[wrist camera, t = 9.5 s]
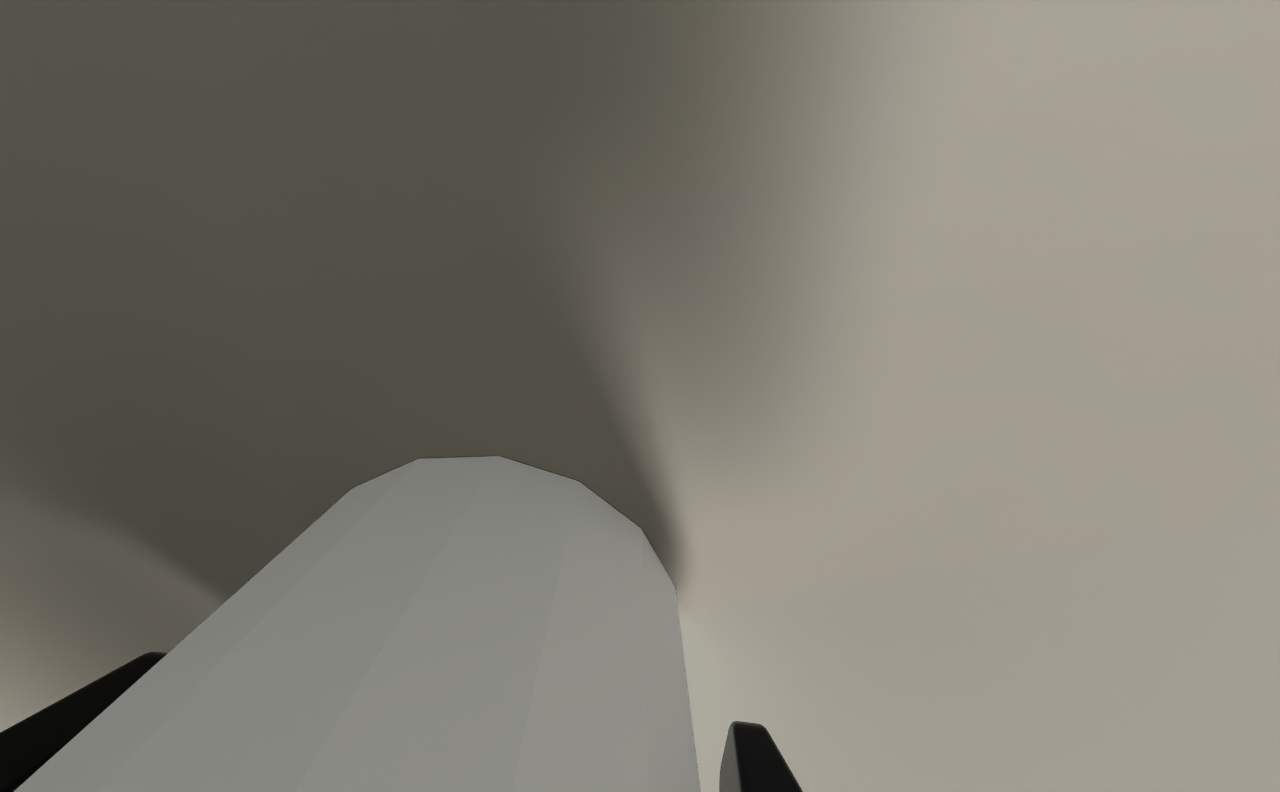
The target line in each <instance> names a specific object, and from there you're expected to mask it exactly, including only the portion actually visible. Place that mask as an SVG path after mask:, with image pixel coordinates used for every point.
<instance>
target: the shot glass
mask: <svg viewBox="0 0 1280 792" xmlns="http://www.w3.org/2000/svg"><path fill="white" fill-rule="evenodd" d="M14 792H701V790H700V782H699V774H698V766H697V757H696V749H695V741H694V733H693V725H692V717H691V709H690V701H689V693H688V685H687V677H686V669H685V661H684V652H683V644H682V636H681V628H680V620H679V612H678V604H677V596H676V588H675V586H674V584H673V582H672V581H671V579H670V577H669V576H668V574H667V572H666V570H665V569H664V567H663V565H662V564H661V562H660V560H659V558H658V557H657V555H656V553H655V552H654V550H653V548H652V546H651V545H650V543H649V541H648V540H647V538H646V536H645V534H644V533H643V531H642V529H641V528H640V527H638V526H637V525H636V524H634V523H633V522H632V521H630V520H629V519H628V518H626V517H625V516H624V515H622V514H621V513H620V512H618V511H617V510H616V509H615V508H613V507H612V506H611V505H609V504H608V503H607V502H605V501H604V500H603V499H601V498H600V497H599V496H597V495H596V494H595V493H593V492H592V491H591V490H590V489H588V488H587V487H586V486H584V485H583V484H582V483H580V482H579V481H576V480H573V479H570V478H567V477H563V476H560V475H557V474H554V473H551V472H548V471H544V470H541V469H538V468H535V467H532V466H529V465H526V464H522V463H519V462H516V461H513V460H510V459H507V458H503V457H500V456H488V457H458V458H429V459H417V460H414V461H412V462H410V463H408V464H405V465H403V466H401V467H399V468H396V469H394V470H392V471H390V472H388V473H385V474H383V475H381V476H379V477H376V478H374V479H372V480H370V481H367V482H365V483H363V484H361V485H358V486H356V487H354V488H352V489H351V490H350V491H349V492H348V493H346V494H345V495H344V496H343V497H342V498H341V499H340V500H339V501H337V502H336V503H335V504H334V505H333V506H332V507H331V508H330V509H329V510H327V511H326V512H325V513H324V514H323V515H322V516H321V517H320V518H319V519H317V520H316V521H315V522H314V523H313V524H312V525H311V526H310V527H308V528H307V529H306V530H305V531H304V532H303V533H302V534H301V535H300V536H298V537H297V538H296V539H295V540H294V541H293V542H292V543H291V544H289V545H288V546H287V547H286V548H285V549H284V550H283V551H282V552H281V553H279V554H278V555H277V556H276V557H275V558H274V559H273V560H272V561H270V562H269V563H268V564H267V565H266V566H265V567H264V568H263V569H262V570H260V571H259V572H258V573H257V574H256V575H255V576H254V577H253V578H252V579H250V580H249V581H248V582H247V583H246V584H245V585H244V586H243V587H241V588H240V589H239V590H238V591H237V592H236V593H235V594H234V595H233V596H231V597H230V598H229V599H228V600H227V601H226V602H225V603H224V604H222V605H221V606H220V607H219V608H218V609H217V610H216V611H215V612H214V613H212V614H211V615H210V616H209V617H208V618H207V619H206V620H205V621H203V622H202V623H201V624H200V625H199V626H198V627H197V628H196V629H195V630H193V631H192V632H191V633H190V634H189V635H188V636H187V637H186V638H185V639H183V640H182V641H181V642H180V643H179V644H178V645H177V646H176V647H174V648H173V649H172V650H171V651H170V652H169V653H168V654H167V655H166V656H164V657H163V658H162V659H161V660H160V661H159V662H158V663H157V664H155V665H154V666H153V667H152V668H151V669H150V670H149V671H148V672H147V673H145V674H144V675H143V676H142V677H141V678H140V679H139V680H138V681H137V682H135V683H134V684H133V685H132V686H131V687H130V688H129V689H128V690H126V691H125V692H124V693H123V694H122V695H121V696H120V697H119V698H118V699H116V700H115V701H114V702H113V703H112V704H111V705H110V706H109V707H107V708H106V709H105V710H104V711H103V712H102V713H101V714H100V715H99V716H97V717H96V718H95V719H94V720H93V721H92V722H91V723H90V724H88V725H87V726H86V727H85V728H84V729H83V730H82V731H81V732H80V733H78V734H77V735H76V736H75V737H74V738H73V739H72V740H71V741H70V742H68V743H67V744H66V745H65V746H64V747H63V748H62V749H61V750H59V751H58V752H57V753H56V754H55V755H54V756H53V757H52V758H51V759H49V760H48V761H47V762H46V763H45V764H44V765H43V766H42V767H40V768H39V769H38V770H37V771H36V772H35V773H34V774H33V775H32V776H30V777H29V778H28V779H27V780H26V781H25V782H24V783H23V784H22V785H20V786H19V787H18V788H17V789H16V790H15V791H14Z"/></svg>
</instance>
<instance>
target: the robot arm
mask: <svg viewBox="0 0 1280 792" xmlns="http://www.w3.org/2000/svg"><path fill="white" fill-rule="evenodd" d="M167 654H168V653H164V652H149V653H146V654H144V655H142V656H140V657H138V658H136V659H134V660H132V661H131V662H129V663H127V664H125V665H123V666H121V667H120V668H118V669H116V670H114V671H112V672H110V673H109V674H107V675H105V676H103V677H101V678H100V679H98V680H96V681H94V682H92V683H90V684H89V685H87V686H85V687H83V688H81V689H79V690H78V691H76V692H74V693H72V694H70V695H68V696H67V697H65V698H63V699H61V700H59V701H57V702H56V703H54V704H52V705H50V706H48V707H46V708H45V709H43V710H41V711H39V712H37V713H35V714H34V715H32V716H30V717H28V718H26V719H25V720H23V721H21V722H19V723H17V724H15V725H14V726H12V727H10V728H8V729H6V730H4V731H3V732H1V733H0V792H14V791H15V790H16V789H17V788H18V787H19V786H20V785H22V784H23V783H24V782H25V781H26V780H27V779H28V778H29V777H30V776H32V775H33V774H34V773H35V772H36V771H37V770H38V769H39V768H40V767H42V766H43V765H44V764H45V763H46V762H47V761H48V760H49V759H51V758H52V757H53V756H54V755H55V754H56V753H57V752H58V751H59V750H61V749H62V748H63V747H64V746H65V745H66V744H67V743H68V742H70V741H71V740H72V739H73V738H74V737H75V736H76V735H77V734H78V733H80V732H81V731H82V730H83V729H84V728H85V727H86V726H87V725H88V724H90V723H91V722H92V721H93V720H94V719H95V718H96V717H97V716H99V715H100V714H101V713H102V712H103V711H104V710H105V709H106V708H107V707H109V706H110V705H111V704H112V703H113V702H114V701H115V700H116V699H118V698H119V697H120V696H121V695H122V694H123V693H124V692H125V691H126V690H128V689H129V688H130V687H131V686H132V685H133V684H134V683H135V682H137V681H138V680H139V679H140V678H141V677H142V676H143V675H144V674H145V673H147V672H148V671H149V670H150V669H151V668H152V667H153V666H154V665H155V664H157V663H158V662H159V661H160V660H161V659H162V658H163V657H164V656H166V655H167ZM719 792H803V791H802V789H801V788H800V786H799V784H798V782H797V781H796V779H795V777H794V776H793V774H792V772H791V770H790V769H789V767H788V765H787V763H786V762H785V760H784V758H783V757H782V755H781V753H780V751H779V750H778V748H777V746H776V745H775V743H774V741H773V739H772V738H771V736H770V734H769V732H768V731H767V729H766V728H765V727H764V726H762V725H761V724H756V723H748V722H740V721H735V722H733V723H732V724H731V725H730V727H729V731H728V736H727V740H726V745H725V749H724V754H723V758H722V763H721V769H720V785H719Z"/></svg>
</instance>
